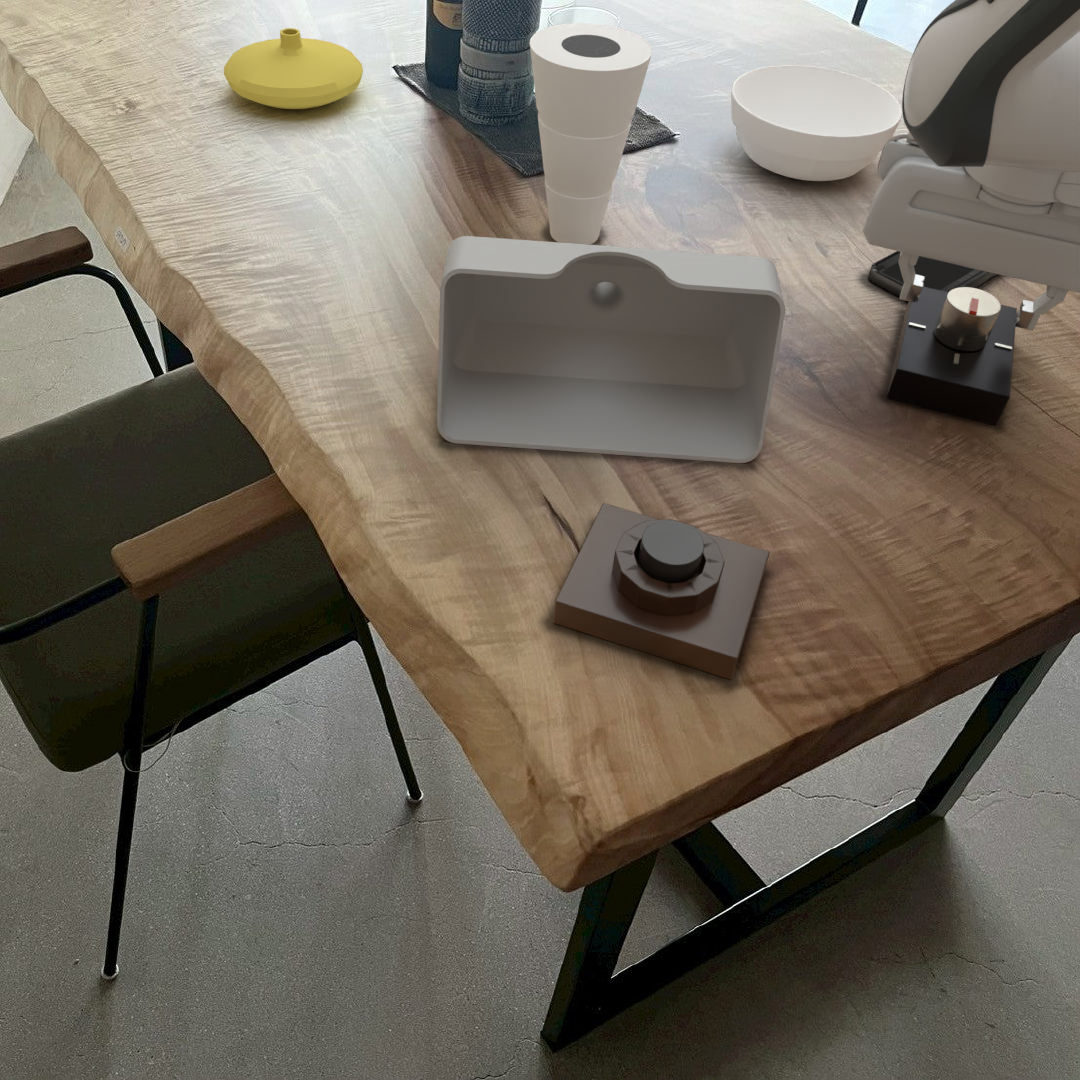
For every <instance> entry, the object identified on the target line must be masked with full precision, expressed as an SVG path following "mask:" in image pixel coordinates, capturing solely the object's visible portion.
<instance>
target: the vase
mask: <svg viewBox="0 0 1080 1080" xmlns="http://www.w3.org/2000/svg"><path fill="white" fill-rule="evenodd" d="M363 68H364V67H363V64H362V62H361V61H360V60H359V58H357V57H356V55H354V53H353V52H352V51H351V50H349V49H347V48H346V47H344V46H342V45H340V44H336V43H334V42H331V41H326V40H321V39H316V38H304V37H301V31H300V30H299V29H297V28H293V27H287V28H283V29H281V30H279V38H272V39H266V40H261V41H258V42H254V43H250V44H248V45H245V46H242V47H241V48H239V49H237V50H236V51H235V52H233V53H232V55H230V57H229V59H228V60H227V61H226V63H225V65H224V66H223V75H224V77H225V79H226V81H227V83H228V86H229V87H230V88H231V90H232V91H233V92H235V93H236V94H238V95H239V96H240V97H242V98H244V99H246V100H250V101H252V102H255V103H257V104H260V105H264V106H267V107H272V108H277V109H285V110H305V109H312V108H313V109H314V108H318V107H322V106H326V105H329V104H332V103H333V102H336V101H338V100H340V99H343V98H344V97H347V96H349V95H351V94H352V93H353V92H355V90H356V89H358V87H359V85H360V83H361V81H362V78H363V73H364V69H363Z"/></svg>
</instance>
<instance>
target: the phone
mask: <svg viewBox="0 0 1080 1080" xmlns="http://www.w3.org/2000/svg"><path fill="white" fill-rule="evenodd" d="M900 253H901V252H900V251H894V252H892V253H890V254H889V255H887V256H885V257H883V258H881V259H879V260H877V261H875V262H874V263H872V264H871V265H870V269H869V272H868V275H867V278H868V281H870V282H871V283H872V284H875V285H876V286H878V287H880V288H882V289H884V290H886V291H887V292H890V293H892V294H894V295H896V296H897V297H899V298H900V294H901V290H902V287H903V284H904V281H903V277H902V274H901V270H900V267H899V263H898V262H899V257H900ZM914 269H915V274H917V275H921V276H925V279H924V282H923V283H924V284H923V287H927V288H932V289H936V290H940V291H945V292H950V291H951V290H952V289H955V288H959V287H971V288H977V287H979V286H980V285H982V284H983V283H985V282H987V281H988V280H991V279H992V278H993V277H996V276H997V275H998V274H995V273H991V272H987V271H982V270H978V269H974V268H969V267H965V266H960V265H956V264H952V263H947V262H943V261H939V260H934V259H930V258H926V257H921V256H919V257H918V260H917V263H916V265H914Z"/></svg>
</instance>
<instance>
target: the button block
mask: <svg viewBox="0 0 1080 1080" xmlns="http://www.w3.org/2000/svg"><path fill="white" fill-rule="evenodd" d="M665 520H672V521H677V520H676V519H671V518H663V519H662V518H661V519H660V518H656V517H653V516H649V515H646V514H643V513H639V512H636V511H633V510H630V509H625V508H623V507H619V506H615V505H611V504H608V503H605V502H603V503H601V505H600V508H599V510H598V512H597V514H596V516H595V519H594V521H593V522H592V525H591V527H590V529H589V530H588V533H587V534H586V537H585V539H584V541H583V543H582V545H581V547H580V550H579V551H578V554H577V555H576V558H575V559H574V562H573V564H572V566H571V568H570V570H569V572H568V574H567V576H566V578H565V580H564V583H563V584H562V587H561V588H560V590H559V592H558V595H557V596H556V599H555V602H554V610H553V611H554V612H553V623H554V624H556V625H559V626H562V627H565V628H567V629H568V628H569V629H570V630H571V629H572V630H575V631H578V632H580V633H583V634H588V635H589V636H594V637H597V638H599V639H603V640H606V641H608V642H609V641H610V642H612V643H615V644H618V645H622V646H625V647H628V648H631V649H635V650H637V651H640V652H644V653H646V654H650V655H653V656H656V657H658V658H663V659H666V660H669V661H672V662H675V663H678V664H681V665H684V666H687V667H691V668H693V669H697V670H700V671H703V672H706V673H709V674H713V675H714V676H718V677H721V678H725V679H729V680H733V677H734V674H735V672H736V671H735V670H736V667H737V663H738V661H739V659H740V654H741V651H742V648H743V643H744V641H745V637H746V634H747V631H748V627H749V624H750V621H751V617H752V614H753V610H754V607H755V604H756V602H757V601H756V600H757V597H758V593H759V590H760V587H761V583H762V581H763V577H764V573H765V571H766V567H767V564H768V560H769V558H770V553H771V552H770V550H766V549H763V548H759V547H756V546H753V545H749V544H746V543H743V542H739V541H735V540H732V539H728V538H726V537H722V536H718V535H714V534H712V533H708V532H704V531H703V530H702V529H701V528H699V527H698V526H696V525H693V524H689V523H686V522H682V521H681V522H682V523H685V524H687V525H689V526H691V527H692V528H694V529H695V530H696V531H697V532H698V533H699V534H700V535H701V537H702V539H703V542H704V551H703V555H702V559H701V563H700V567H699V570H698V572H697V573H696V575H695V576H694V577H692V578H691V579H689V580H687V581H685V582H681V583H666V582H663V581H659V580H656V579H654V578H652V577H650V576H649V575H648V574H647V573H646V572H645V571H644V570H643V569H642V567H641V566H640V563H639V551H640V545H641V539H642V535H643V533H644V531H645V530H646V528H648V527H649V526H650V525H651V524H653V523H656V522H659V521H665Z"/></svg>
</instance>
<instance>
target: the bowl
mask: <svg viewBox="0 0 1080 1080" xmlns="http://www.w3.org/2000/svg"><path fill="white" fill-rule="evenodd" d="M730 117H731V121H732V124H733V125H734V126H735V133H736V137H737V140H738V141H739V144H740V146H741V147H742V149H743V150H744V152H745V154H746V155H747V157H748V158H749V159H751V160H752V161H753V162H754V163H755V164H757V165H759V166H760V167H762V168H763V169H765V170H768V171H770V172H771V173H775V174H778V175H780V176H783V177H787V178H791V179H794V180H801V181H811V182H828V181H837V180H844V179H846V178H850V177H851V176H854V175H856V174H858V173H859V172H861V171H862V170H863V169H864V168H866V167H868V166H869V165H870V164H871V163H872V162H873V161H875V159H876V158H877V156H878V155H879V153H880V152H882V150H883V147H884V145H885V144H886V142H887V141H888V140H889V139H890V138H892V137H893V136H894V134H895V132H896V131H897V129H898V126H899V125H900V122H901V120H902V118H903V113H902V104H901V103H900V101H899V100H898V98H896V97H895V96H894V95H893V94H892V93H891V92H890V91H888V90H886V89H885V88H884V87H882V86H881V85H879V84H877V83H875V82H873V81H871V80H868V79H866V78H863V77H861V76H859V75H856V74H852V73H849V72H846V71H842V70H837V69H832V68H829V67H821V66H814V65H801V64H779V65H769V66H762V67H758V68H755V69H752V70H749V71H747V72H744V73H743V74H741V75H740V76H738V77H737V78H736V80H735V81H734V82H733V84H732V86H731V91H730Z"/></svg>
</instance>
